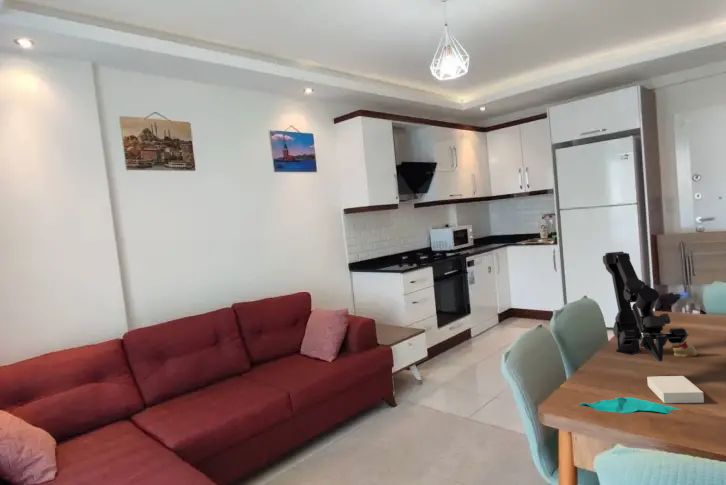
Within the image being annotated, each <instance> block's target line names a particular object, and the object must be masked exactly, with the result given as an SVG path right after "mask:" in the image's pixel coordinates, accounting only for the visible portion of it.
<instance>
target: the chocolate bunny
mask: <svg viewBox="0 0 726 485" xmlns="http://www.w3.org/2000/svg"><path fill="white" fill-rule="evenodd" d="M686 332H687V334H688V335H687V337H686V338H685V340H684V342H683V343H671V342H670V345H671V347H670V349H672V351H673V356H674V357H677V358H692V357H696V356H698V351H697V349H696V348H695V347H694V346H693V345H692V344H691V343H688V342H687V339H688V337H689V336H690V334H691V333H690V332H689V331H686Z"/></svg>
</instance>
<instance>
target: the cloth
mask: <svg viewBox="0 0 726 485" xmlns="http://www.w3.org/2000/svg"><path fill="white" fill-rule="evenodd" d="M580 405H581V406H586V405H587V406H589V407H590V408H594V411H600V412H601V411H603V412H609V413H610V412H611V413H623V414H628V413H635V412H637V411H641V412H645V411H646V412H653V413H661V414H667V415H669V414H670V413H671V410H675V411H676V410H681V411H682V409H681V408H678V407H674V406H671V405H666V404H662V403H660V402H653V401H649V400H647V399H640V398H636V397H630V396H626V397H623V396H621V397H615V398H612V399H603V400H602V399H601V400H598V401H594V402H581V403H579V405H578V407H581V406H580ZM669 412H670V413H669Z"/></svg>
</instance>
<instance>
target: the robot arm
mask: <svg viewBox="0 0 726 485" xmlns="http://www.w3.org/2000/svg"><path fill="white" fill-rule="evenodd" d="M602 263H603V265H604V267H605V270H606V271H607V272H608V273H609V274H610V275H611V278H612V283H613V289H614V293H615V299H616V305H617V310H618V312H617V314H616V316H615V321H614V325H613V328H612V332H613V336H615V337H616V338H617V349H615V351H616V352H618V353H623V354H628V355H634V354H637V353H639V352H641V351H642V349H641V347H643V348H644V349H645V350H647V351H648V352H649V353H650V354H651V355H652V356H653V357H654V358H655V359H656V360H657V361H658V362H662V361H663V356H664V346H666V344H667V342H669V343H670V344H671V343H683V342H684V340H685V338H686V337H687V335H688V334H687V332H688V331H687V330H686V329H685V328H684V327H674V328H673V327H670V328H669V332H661V331H663V330H664V327H666V325H669V324H671V317H670V315H669V313H661V314H659V315H655V313H654V310H653V309H655V308H656V306H657V302H658V300H659V299H660V293H659V292H658V291H657V290H656V289H655V288H653V287H650V285H649V284H646V282H644V281H642V280H641V279H639V277H638V275H637V272H636V270H635V269H634V266H633V264H632V261H631V256H630V253H628V252H624V251H613V252H612V251H611V252H605V254H604V255H603V256H602ZM631 303H633V304H632V305H631ZM687 338H688V337H687ZM687 338H686V339H687Z"/></svg>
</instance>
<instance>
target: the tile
mask: <svg viewBox="0 0 726 485" xmlns="http://www.w3.org/2000/svg"><path fill="white" fill-rule="evenodd" d="M646 379H647V387H649V389H650V390H651V391H652V392H653V393H654V394H655V395H656V396H657V397H658V398H659V399H660V400H661V401H662V402H663V403H664V404H687V403H688V404H699V403H700V404H702V403H703V404H704V403H705V398H704V391H702V390H701V389H699V387H697V386H696V385H695V384H694V383H692V381H690V380H689V379H688V378H687V377H685V376H684V375H668V376H666V375H665V376H662V375H661V376H658V375H657V376H647V378H646Z"/></svg>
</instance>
